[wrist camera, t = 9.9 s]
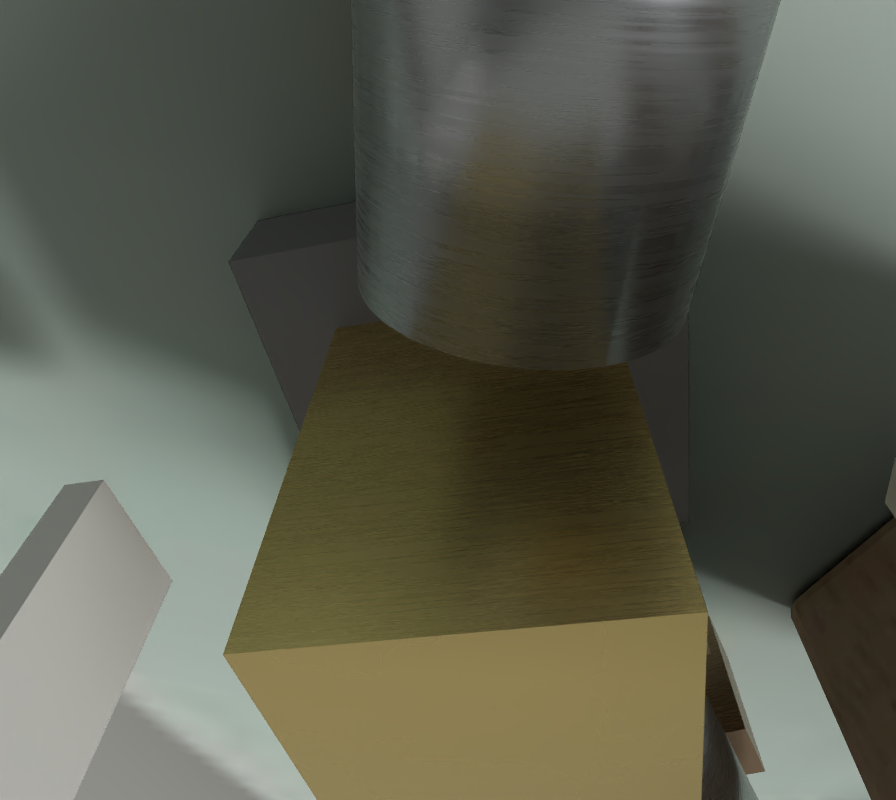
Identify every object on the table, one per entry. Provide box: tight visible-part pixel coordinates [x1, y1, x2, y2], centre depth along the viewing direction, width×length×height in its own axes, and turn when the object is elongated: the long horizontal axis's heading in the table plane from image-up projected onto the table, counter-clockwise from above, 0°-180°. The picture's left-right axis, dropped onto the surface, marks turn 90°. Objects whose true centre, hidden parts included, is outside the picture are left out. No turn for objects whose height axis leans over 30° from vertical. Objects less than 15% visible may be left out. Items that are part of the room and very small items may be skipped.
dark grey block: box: [229, 202, 689, 523], centre depth 15 cm, size 8×8×2 cm
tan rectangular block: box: [223, 321, 708, 800], centre depth 11 cm, size 5×5×7 cm
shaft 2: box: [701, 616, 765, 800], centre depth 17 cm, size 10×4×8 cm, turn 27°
